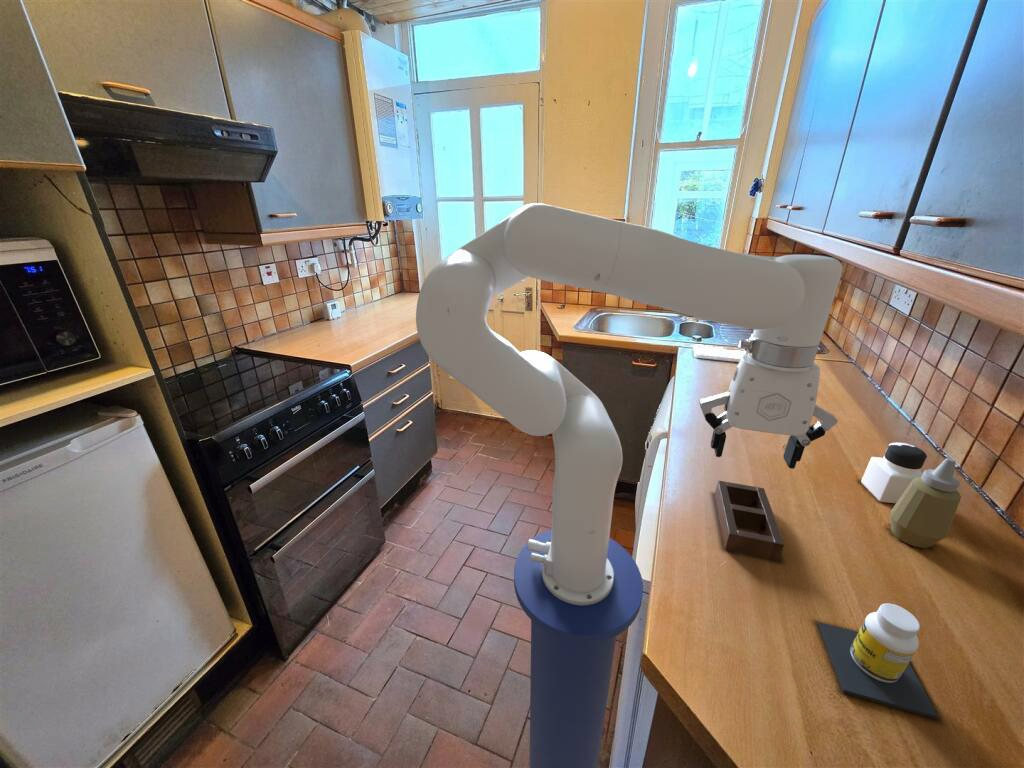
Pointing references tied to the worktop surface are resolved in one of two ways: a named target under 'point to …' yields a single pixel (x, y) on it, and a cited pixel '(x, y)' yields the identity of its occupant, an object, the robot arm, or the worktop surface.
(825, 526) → the worktop surface
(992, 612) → the worktop surface
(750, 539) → the rack
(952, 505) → the squeeze bottle
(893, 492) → the medicine bottle
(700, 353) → the white flat block
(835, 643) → the mat
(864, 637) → the supplement bottle
